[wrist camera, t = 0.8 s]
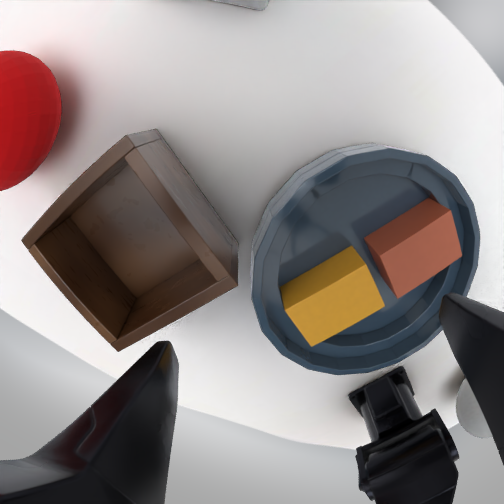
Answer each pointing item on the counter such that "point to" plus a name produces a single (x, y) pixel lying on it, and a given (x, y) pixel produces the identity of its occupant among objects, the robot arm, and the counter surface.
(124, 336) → the holder
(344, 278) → the yellow block
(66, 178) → the counter surface
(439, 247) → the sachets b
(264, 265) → the bowl
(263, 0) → the container
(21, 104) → the ornament
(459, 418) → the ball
